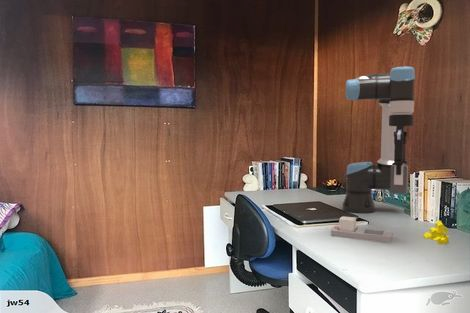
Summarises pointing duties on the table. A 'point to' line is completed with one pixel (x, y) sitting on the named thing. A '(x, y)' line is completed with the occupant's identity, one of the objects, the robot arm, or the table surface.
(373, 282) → the table surface
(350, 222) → the block
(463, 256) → the table surface
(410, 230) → the table surface
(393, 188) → the block
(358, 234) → the power strip
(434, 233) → the yellow lumpy cluster
